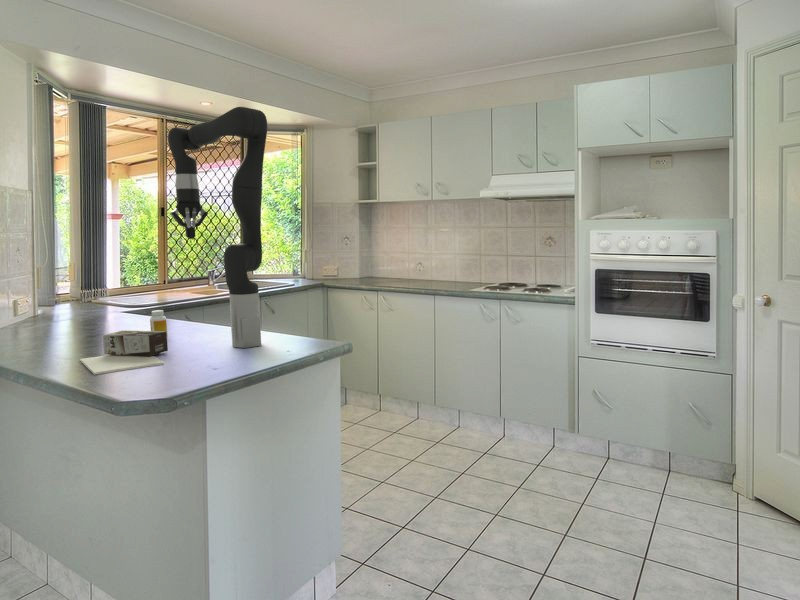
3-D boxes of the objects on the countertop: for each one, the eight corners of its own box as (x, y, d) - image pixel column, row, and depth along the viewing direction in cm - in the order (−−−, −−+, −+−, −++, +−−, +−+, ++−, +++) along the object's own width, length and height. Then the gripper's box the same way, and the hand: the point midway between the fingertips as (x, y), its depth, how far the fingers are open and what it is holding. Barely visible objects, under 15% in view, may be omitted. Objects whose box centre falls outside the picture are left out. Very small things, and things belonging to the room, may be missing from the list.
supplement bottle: (170, 336, 213) (168, 310, 212) (159, 339, 208) (157, 312, 207) (159, 335, 215) (157, 309, 214) (148, 338, 210) (145, 311, 209)
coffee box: (103, 355, 179) (149, 356, 176) (102, 334, 179) (148, 335, 175) (124, 349, 188) (168, 351, 185) (122, 329, 188) (167, 330, 184)
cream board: (163, 364, 169) (163, 362, 169) (94, 374, 158) (94, 372, 158) (144, 352, 186) (143, 350, 186) (80, 360, 176) (80, 358, 176)
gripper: (170, 187, 195) (174, 239, 198) (210, 187, 203) (213, 238, 205) (164, 188, 201) (168, 239, 204) (203, 189, 209) (206, 238, 211)
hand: (190, 238), depth 204 cm, fingers closed
